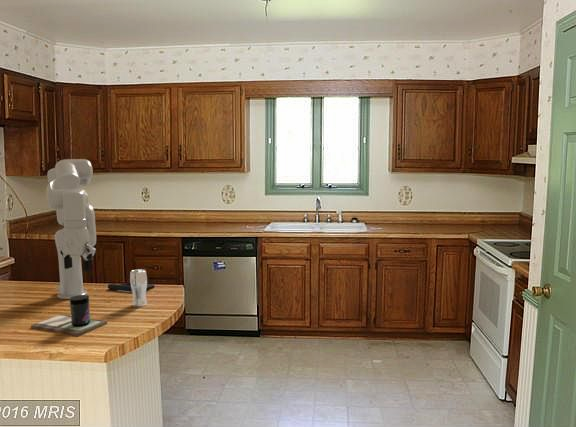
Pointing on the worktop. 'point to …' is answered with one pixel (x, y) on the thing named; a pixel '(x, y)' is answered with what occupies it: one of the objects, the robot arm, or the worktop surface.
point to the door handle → (126, 287)
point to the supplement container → (80, 310)
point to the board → (67, 325)
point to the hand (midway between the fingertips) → (78, 269)
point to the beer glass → (138, 287)
